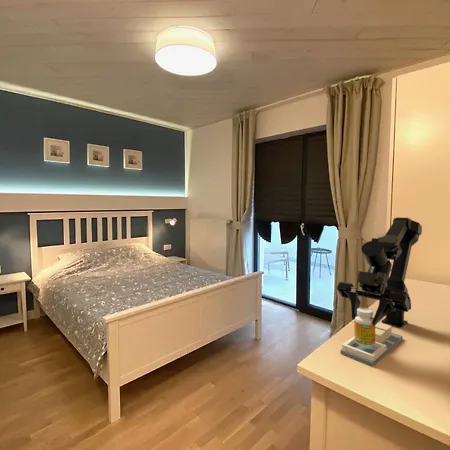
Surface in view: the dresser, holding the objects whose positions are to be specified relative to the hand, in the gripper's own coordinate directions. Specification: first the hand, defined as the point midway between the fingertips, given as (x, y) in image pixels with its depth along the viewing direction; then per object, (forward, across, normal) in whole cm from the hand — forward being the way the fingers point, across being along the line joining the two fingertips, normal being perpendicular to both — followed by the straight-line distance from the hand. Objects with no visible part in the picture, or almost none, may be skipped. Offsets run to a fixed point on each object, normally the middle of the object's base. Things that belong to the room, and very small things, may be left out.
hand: (362, 321), depth 81 cm
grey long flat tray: (+2, 0, +12) cm, 12 cm away
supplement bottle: (+4, 0, +6) cm, 7 cm away
